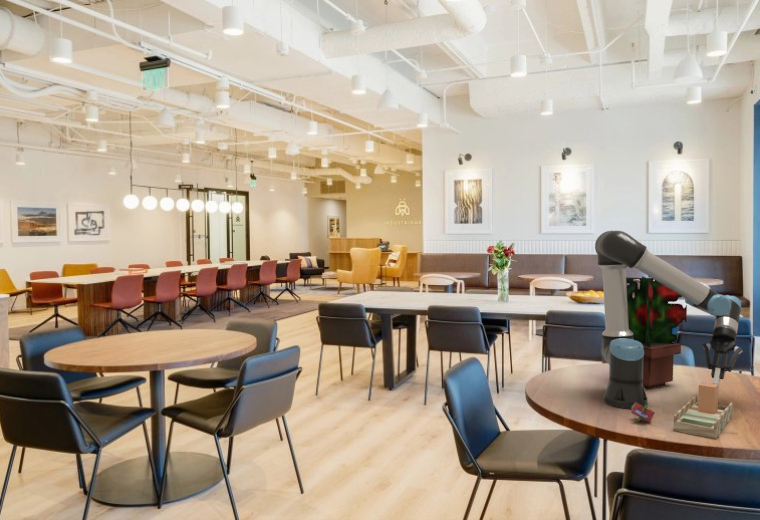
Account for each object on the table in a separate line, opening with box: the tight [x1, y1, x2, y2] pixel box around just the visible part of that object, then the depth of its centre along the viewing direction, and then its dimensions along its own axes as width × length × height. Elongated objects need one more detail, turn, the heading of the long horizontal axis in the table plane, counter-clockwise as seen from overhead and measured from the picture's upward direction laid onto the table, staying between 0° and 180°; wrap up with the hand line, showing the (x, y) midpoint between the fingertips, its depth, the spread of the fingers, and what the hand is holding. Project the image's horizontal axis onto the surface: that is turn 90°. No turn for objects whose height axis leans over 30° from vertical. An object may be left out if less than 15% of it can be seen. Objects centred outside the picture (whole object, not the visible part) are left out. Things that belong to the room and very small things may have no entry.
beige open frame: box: [672, 395, 734, 440], centre depth 195 cm, size 30×12×5 cm, turn 140°
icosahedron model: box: [630, 402, 655, 424], centre depth 196 cm, size 7×7×8 cm
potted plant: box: [626, 275, 688, 390], centre depth 245 cm, size 22×22×45 cm
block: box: [697, 381, 719, 414], centre depth 199 cm, size 5×5×9 cm
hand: (715, 385), depth 205 cm, fingers closed
